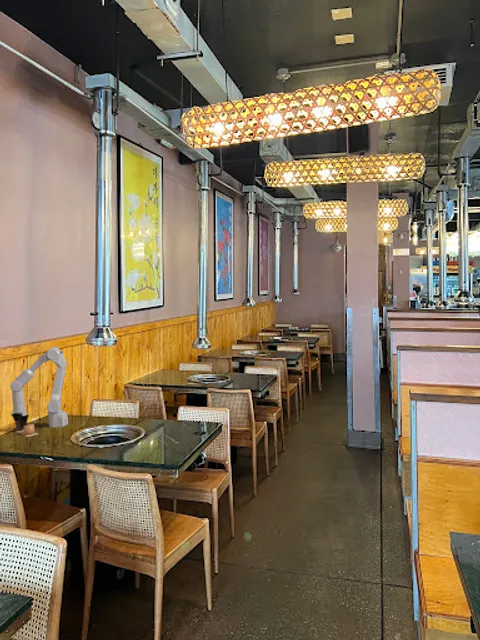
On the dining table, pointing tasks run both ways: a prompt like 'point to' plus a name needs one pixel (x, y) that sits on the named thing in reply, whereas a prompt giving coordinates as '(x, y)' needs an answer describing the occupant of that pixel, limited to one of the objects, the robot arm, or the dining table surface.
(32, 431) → the tan round lump
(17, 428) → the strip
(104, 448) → the dining table surface
